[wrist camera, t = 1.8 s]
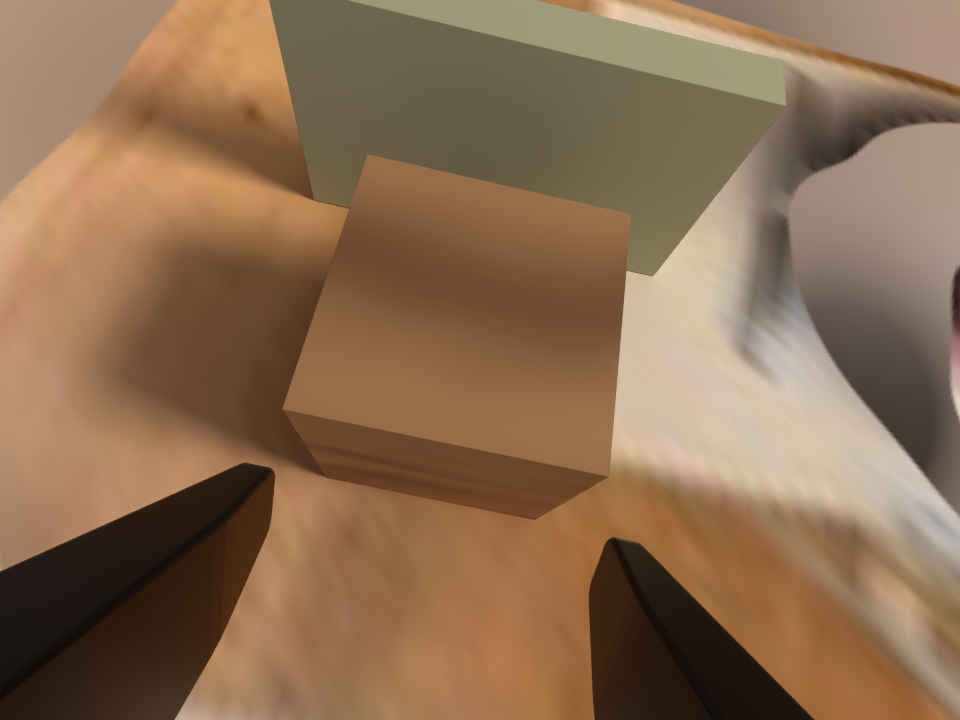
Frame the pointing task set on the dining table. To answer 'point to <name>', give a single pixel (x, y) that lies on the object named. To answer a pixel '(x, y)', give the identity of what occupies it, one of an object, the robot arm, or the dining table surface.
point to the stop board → (527, 104)
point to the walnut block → (465, 342)
